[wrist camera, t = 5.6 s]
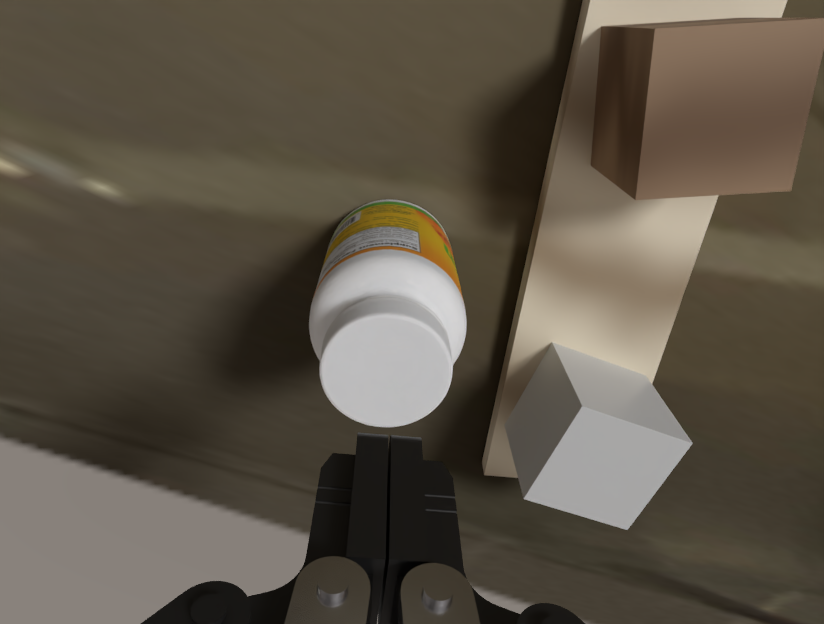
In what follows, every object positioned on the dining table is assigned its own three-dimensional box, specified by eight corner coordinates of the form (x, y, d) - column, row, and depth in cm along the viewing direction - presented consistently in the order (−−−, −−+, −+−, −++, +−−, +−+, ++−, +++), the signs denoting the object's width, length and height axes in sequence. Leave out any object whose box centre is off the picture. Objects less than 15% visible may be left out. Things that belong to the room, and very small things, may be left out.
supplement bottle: (451, 308, 28) (476, 443, 19) (335, 313, 28) (305, 450, 19) (451, 193, 25) (479, 288, 16) (323, 198, 25) (283, 296, 16)
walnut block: (601, 26, 21) (654, 28, 17) (740, 17, 21) (831, 17, 17) (590, 165, 24) (635, 200, 19) (716, 157, 24) (790, 190, 19)
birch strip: (597, -70, 21) (606, -74, 20) (786, -42, 22) (802, -44, 21) (481, 462, 32) (484, 475, 31) (610, 472, 32) (616, 485, 31)
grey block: (551, 342, 27) (582, 406, 23) (645, 375, 28) (692, 443, 24) (504, 424, 29) (523, 499, 25) (593, 453, 30) (627, 529, 26)
